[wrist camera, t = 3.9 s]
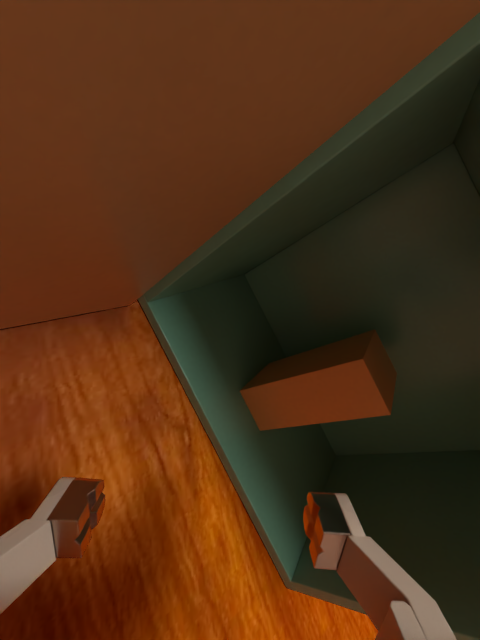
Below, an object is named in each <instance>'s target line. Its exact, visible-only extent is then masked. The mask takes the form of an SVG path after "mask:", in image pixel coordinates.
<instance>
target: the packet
mask: <svg viewBox="0 0 480 640" xmlns="http://www.w3.org/2000/svg"><path fill="white" fill-rule="evenodd" d="M396 376H397V372H396V370H395V368H394V366H393V364H392V362H391V360H390V358H389V356H388V354H387V352H386V350H385V348H384V346H383V344H382V342H381V340H380V338H379V336H378V334H377V332H376V330H371V331H368V332H365V333H362V334H359V335H356V336H353V337H349V338H346V339H343V340H340V341H337V342H334V343H331V344H327V345H324V346H321V347H318V348H315V349H312V350H309V351H306V352H302V353H299V354H296V355H293V356H290V357H287V358H284V359H280V360H277V361H274V362H271V363H269V364H268V365H267V366H266V367H265V368H263V369H262V370H261V371H260V372H259V373H258V374H257V375H256V376H255V377H254V378H253V379H252V380H251V381H250V382H248V383H247V384H246V385H245V386H244V387H243V388H242V389H241V390H240V393H241V395H242V397H243V399H244V400H245V402H246V404H247V406H248V408H249V410H250V412H251V414H252V416H253V418H254V420H255V422H256V424H257V426H258V428H259V430H260V431H262V430H270V429H278V428H286V427H295V426H303V425H311V424H319V423H328V422H336V421H344V420H352V419H361V418H369V417H377V416H385V415H391V410H392V403H393V396H394V390H395V383H396Z"/></svg>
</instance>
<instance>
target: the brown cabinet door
mask: <svg viewBox="0 0 480 640" xmlns="http://www.w3.org/2000/svg"><path fill="white" fill-rule="evenodd" d="M479 12H480V0H0V329H4V328H9V327H15V326H20V325H26V324H31V323H36V322H42V321H47V320H53V319H58V318H63V317H69V316H74V315H80V314H85V313H91V312H96V311H101V310H107V309H112V308H118V307H123V306H128V305H131V304H132V303H134V302H135V301H136V300H137V299H138V298H140V297H141V296H142V295H143V294H144V293H146V292H147V291H148V290H149V289H150V288H151V287H153V286H154V285H155V284H156V283H157V282H159V281H160V280H161V279H162V278H163V277H165V276H166V275H167V274H168V273H169V272H171V271H172V270H173V269H174V268H175V267H177V266H178V265H179V264H180V263H181V262H182V261H184V260H185V259H186V258H187V257H188V256H190V255H191V254H192V253H193V252H194V251H196V250H197V249H198V248H199V247H200V246H202V245H203V244H204V243H205V242H206V241H208V240H209V239H210V238H211V237H212V236H213V235H215V234H216V233H217V232H218V231H219V230H221V229H222V228H223V227H224V226H225V225H227V224H228V223H229V222H230V221H231V220H233V219H234V218H235V217H236V216H237V215H239V214H240V213H241V212H242V211H243V210H245V209H246V208H247V207H248V206H249V205H250V204H252V203H253V202H254V201H255V200H256V199H258V198H259V197H260V196H261V195H262V194H264V193H265V192H266V191H267V190H268V189H270V188H271V187H272V186H273V185H274V184H276V183H277V182H278V181H279V180H280V179H281V178H283V177H284V176H285V175H286V174H287V173H289V172H290V171H291V170H292V169H293V168H295V167H296V166H297V165H298V164H299V163H301V162H302V161H303V160H304V159H305V158H307V157H308V156H309V155H310V154H311V153H312V152H314V151H315V150H316V149H317V148H318V147H320V146H321V145H322V144H323V143H324V142H326V141H327V140H328V139H329V138H330V137H332V136H333V135H334V134H335V133H336V132H338V131H339V130H340V129H341V128H342V127H343V126H345V125H346V124H347V123H348V122H349V121H351V120H352V119H353V118H354V117H355V116H357V115H358V114H359V113H360V112H361V111H363V110H364V109H365V108H366V107H367V106H369V105H370V104H371V103H372V102H373V101H374V100H376V99H377V98H378V97H379V96H380V95H382V94H383V93H384V92H385V91H386V90H388V89H389V88H390V87H391V86H392V85H394V84H395V83H396V82H397V81H398V80H400V79H401V78H402V77H403V76H404V75H405V74H407V73H408V72H409V71H410V70H411V69H413V68H414V67H415V66H416V65H417V64H419V63H420V62H421V61H422V60H423V59H425V58H426V57H427V56H428V55H429V54H431V53H432V52H433V51H434V50H435V49H436V48H438V47H439V46H440V45H441V44H442V43H444V42H445V41H446V40H447V39H448V38H450V37H451V36H452V35H453V34H454V33H456V32H457V31H458V30H459V29H460V28H462V27H463V26H464V25H465V24H466V23H467V22H469V21H470V20H471V19H472V18H473V17H475V16H476V15H477V14H478V13H479Z"/></svg>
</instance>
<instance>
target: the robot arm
mask: <svg viewBox="0 0 480 640" xmlns="http://www.w3.org/2000/svg"><path fill="white" fill-rule="evenodd" d="M103 488H104V480H98V479H87V478H74V477H62V478H61V479H59V480H58V481H57V483H56V484H55V485H54V487H53V488H52V490H51V491H50V492H49V494H48V495H47V496H46V498H45V499H44V501H43V502H42V503H41V505H40V506H39V507H38V509H37V510H36V512H35V513H34V514H33V516H32V517H31V518H30V519H25V520H24V521H22V522H21V523H19V524H18V525H16V526H15V527H13V528H12V529H10V530H9V531H8V532H6V533H5V534H3V535H2V536H0V614H1V613H2V612H3V611H4V610H5V609H6V608H7V607H8V606H9V605H10V604H11V603H12V602H13V601H14V600H15V599H16V598H17V597H19V596H20V595H21V594H22V593H23V592H24V591H25V590H26V589H27V588H28V587H29V586H30V585H31V584H32V583H33V582H34V581H35V580H36V579H37V578H38V577H39V576H40V575H41V574H42V573H43V572H44V571H45V570H46V569H47V568H48V567H49V566H50V565H51V564H52V563H53V562H54V561H55V560H56V558H82V557H83V554H84V552H85V550H86V548H87V546H88V544H89V542H90V540H91V538H92V536H91V530H92V529H93V528H94V527H95V526H97V525H98V523H99V521H100V518H101V516H102V513H103V510H104V506H105V495H104V494H103V493H102V490H103ZM307 502H308V504H307V505H306V506H305V507H304V512H303V523H304V529H305V534H306V536H307V537H308V538H309V539H310V540H311V542H310V546H309V550H310V554H311V558H312V562H313V566H314V569H327V570H337V573H338V574H339V576H340V577H341V579H342V580H343V581H344V583H345V584H346V586H347V587H348V588H349V590H350V591H351V593H352V594H353V596H354V597H355V598H356V600H357V601H358V603H359V604H360V605H361V607H362V608H363V610H364V611H365V612H366V614H367V615H368V617H369V618H370V619H371V621H372V622H373V624H374V625H375V627H376V628H377V629H378V634H377V636H376V638H375V640H457V639H456V637H455V635H454V634H453V632H452V630H451V628H450V626H449V625H448V623H447V621H446V619H445V617H444V616H443V614H442V612H441V610H440V608H439V606H438V605H437V603H436V601H435V600H434V599H433V598H432V597H431V596H430V595H429V594H428V593H427V592H426V591H425V590H424V589H423V588H422V587H421V586H420V585H419V584H418V583H417V582H416V581H415V580H414V579H412V578H411V577H410V576H409V575H408V574H407V573H406V572H405V571H404V570H403V569H402V568H401V567H400V566H399V565H398V564H397V563H396V562H395V561H394V560H393V559H392V558H391V557H390V556H389V555H388V554H387V553H386V552H385V551H384V550H383V549H382V548H381V547H380V546H379V545H378V544H377V543H376V542H375V541H374V540H373V539H372V538H371V537H368V536H366V535H365V533H364V531H363V528H362V526H361V524H360V522H359V519H358V517H357V515H356V513H355V511H354V508H353V506H352V504H351V502H350V499H349V497H348V496H347V494H345V493H332V492H310V491H309V492H308V494H307Z"/></svg>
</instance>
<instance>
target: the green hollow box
mask: <svg viewBox="0 0 480 640" xmlns="http://www.w3.org/2000/svg"><path fill="white" fill-rule="evenodd" d="M138 301H139V303H140V305H141V307H142V309H143V311H144V313H145V315H146V316H147V318H148V320H149V322H150V324H151V326H152V328H153V330H154V332H155V334H156V336H157V338H158V340H159V342H160V344H161V346H162V347H163V349H164V351H165V353H166V355H167V357H168V359H169V361H170V363H171V365H172V367H173V369H174V371H175V373H176V375H177V377H178V378H179V380H180V382H181V384H182V386H183V388H184V390H185V392H186V394H187V396H188V398H189V400H190V402H191V404H192V406H193V408H194V409H195V411H196V413H197V415H198V417H199V419H200V421H201V423H202V425H203V427H204V429H205V431H206V433H207V435H208V437H209V439H210V440H211V442H212V444H213V446H214V448H215V450H216V452H217V454H218V456H219V458H220V460H221V462H222V464H223V466H224V468H225V470H226V471H227V473H228V475H229V477H230V479H231V481H232V483H233V485H234V487H235V489H236V491H237V493H238V495H239V497H240V499H241V501H242V502H243V504H244V506H245V508H246V510H247V512H248V514H249V516H250V518H251V520H252V522H253V524H254V526H255V528H256V530H257V532H258V533H259V535H260V537H261V539H262V541H263V543H264V545H265V547H266V549H267V551H268V553H269V555H270V557H271V559H272V561H273V563H274V564H275V566H276V568H277V570H278V572H279V574H280V576H281V578H282V580H283V582H284V584H285V586H286V588H288V589H291V590H294V591H297V592H300V593H303V594H306V595H309V596H312V597H315V598H318V599H321V600H324V601H327V602H330V603H333V604H336V605H339V606H342V607H345V608H348V609H351V610H354V611H357V612H360V613H363V614H366V612H365V611H364V610H363V608H362V607H361V605H360V604H359V603H358V601H357V600H356V598H355V597H354V596H353V594H352V593H351V591H350V590H349V588H348V587H347V586H346V584H345V583H344V581H343V580H342V579H341V577H340V576H339V574H338V573H337V570H327V569H314V566H313V562H312V558H311V554H310V550H309V546H310V542H311V540H310V539H309V538H308V537H307V536H306V534H305V529H304V523H303V512H304V507H305V506H306V505H307V504H308V502H307V494H308V492H309V491H310V492H332V493H345V494H347V496H348V497H349V499H350V502H351V504H352V506H353V508H354V511H355V513H356V515H357V517H358V519H359V522H360V524H361V526H362V528H363V531H364V533H365V535H366V536H368V537H371V538H372V539H373V540H374V541H375V542H376V543H377V544H378V545H379V546H380V547H381V548H382V549H383V550H384V551H385V552H386V553H387V554H388V555H389V556H390V557H391V558H392V559H393V560H394V561H395V562H396V563H397V564H398V565H399V566H400V567H401V568H402V569H403V570H404V571H405V572H406V573H407V574H408V575H409V576H410V577H411V578H412V579H414V580H415V581H416V582H417V583H418V584H419V585H420V586H421V587H422V588H423V589H424V590H425V591H426V592H427V593H428V594H429V595H430V596H431V597H432V598H433V599H434V600H435V601H436V603H437V605H438V606H439V608H440V610H441V612H442V614H443V616H444V617H445V619H446V621H447V623H448V625H449V626H450V628H451V630H452V632H453V634H454V635H455V637H456V639H457V640H480V12H479V13H478V14H477V15H476V16H475V17H473V18H472V19H471V20H470V21H469V22H467V23H466V24H465V25H464V26H463V27H462V28H460V29H459V30H458V31H457V32H456V33H454V34H453V35H452V36H451V37H450V38H448V39H447V40H446V41H445V42H444V43H442V44H441V45H440V46H439V47H438V48H436V49H435V50H434V51H433V52H432V53H431V54H429V55H428V56H427V57H426V58H425V59H423V60H422V61H421V62H420V63H419V64H417V65H416V66H415V67H414V68H413V69H411V70H410V71H409V72H408V73H407V74H405V75H404V76H403V77H402V78H401V79H400V80H398V81H397V82H396V83H395V84H394V85H392V86H391V87H390V88H389V89H388V90H386V91H385V92H384V93H383V94H382V95H380V96H379V97H378V98H377V99H376V100H374V101H373V102H372V103H371V104H370V105H369V106H367V107H366V108H365V109H364V110H363V111H361V112H360V113H359V114H358V115H357V116H355V117H354V118H353V119H352V120H351V121H349V122H348V123H347V124H346V125H345V126H343V127H342V128H341V129H340V130H339V131H338V132H336V133H335V134H334V135H333V136H332V137H330V138H329V139H328V140H327V141H326V142H324V143H323V144H322V145H321V146H320V147H318V148H317V149H316V150H315V151H314V152H312V153H311V154H310V155H309V156H308V157H307V158H305V159H304V160H303V161H302V162H301V163H299V164H298V165H297V166H296V167H295V168H293V169H292V170H291V171H290V172H289V173H287V174H286V175H285V176H284V177H283V178H281V179H280V180H279V181H278V182H277V183H276V184H274V185H273V186H272V187H271V188H270V189H268V190H267V191H266V192H265V193H264V194H262V195H261V196H260V197H259V198H258V199H256V200H255V201H254V202H253V203H252V204H250V205H249V206H248V207H247V208H246V209H245V210H243V211H242V212H241V213H240V214H239V215H237V216H236V217H235V218H234V219H233V220H231V221H230V222H229V223H228V224H227V225H225V226H224V227H223V228H222V229H221V230H219V231H218V232H217V233H216V234H215V235H213V236H212V237H211V238H210V239H209V240H208V241H206V242H205V243H204V244H203V245H202V246H200V247H199V248H198V249H197V250H196V251H194V252H193V253H192V254H191V255H190V256H188V257H187V258H186V259H185V260H184V261H182V262H181V263H180V264H179V265H178V266H177V267H175V268H174V269H173V270H172V271H171V272H169V273H168V274H167V275H166V276H165V277H163V278H162V279H161V280H160V281H159V282H157V283H156V284H155V285H154V286H153V287H151V288H150V289H149V290H148V291H147V292H146V293H144V294H143V295H142V296H141V297H140V298H138ZM371 330H376V332H377V334H378V336H379V338H380V340H381V342H382V344H383V346H384V348H385V350H386V352H387V354H388V356H389V358H390V360H391V362H392V364H393V366H394V368H395V370H396V372H397V376H396V383H395V390H394V396H393V403H392V410H391V415H385V416H377V417H369V418H361V419H352V420H344V421H336V422H328V423H319V424H311V425H303V426H295V427H286V428H278V429H270V430H262V431H260V430H259V428H258V426H257V424H256V422H255V420H254V418H253V416H252V414H251V412H250V410H249V408H248V406H247V404H246V402H245V400H244V399H243V397H242V395H241V393H240V390H241V389H242V388H243V387H244V386H245V385H246V384H247V383H248V382H250V381H251V380H252V379H253V378H254V377H255V376H256V375H257V374H258V373H259V372H260V371H261V370H262V369H263V368H265V367H266V366H267V365H268V364H269V363H271V362H274V361H277V360H280V359H284V358H287V357H290V356H293V355H296V354H299V353H302V352H306V351H309V350H312V349H315V348H318V347H321V346H324V345H327V344H331V343H334V342H337V341H340V340H343V339H346V338H349V337H353V336H356V335H359V334H362V333H365V332H368V331H371ZM366 615H367V614H366Z"/></svg>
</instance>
